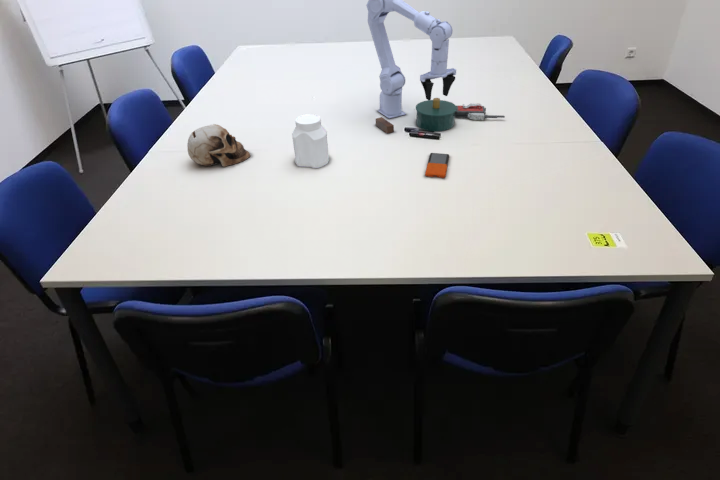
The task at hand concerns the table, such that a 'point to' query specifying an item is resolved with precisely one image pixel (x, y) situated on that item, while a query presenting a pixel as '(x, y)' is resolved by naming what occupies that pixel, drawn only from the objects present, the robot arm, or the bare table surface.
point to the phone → (437, 165)
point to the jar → (310, 142)
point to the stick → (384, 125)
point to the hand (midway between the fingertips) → (436, 97)
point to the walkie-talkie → (473, 112)
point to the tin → (435, 122)
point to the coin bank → (215, 147)
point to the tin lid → (436, 108)
